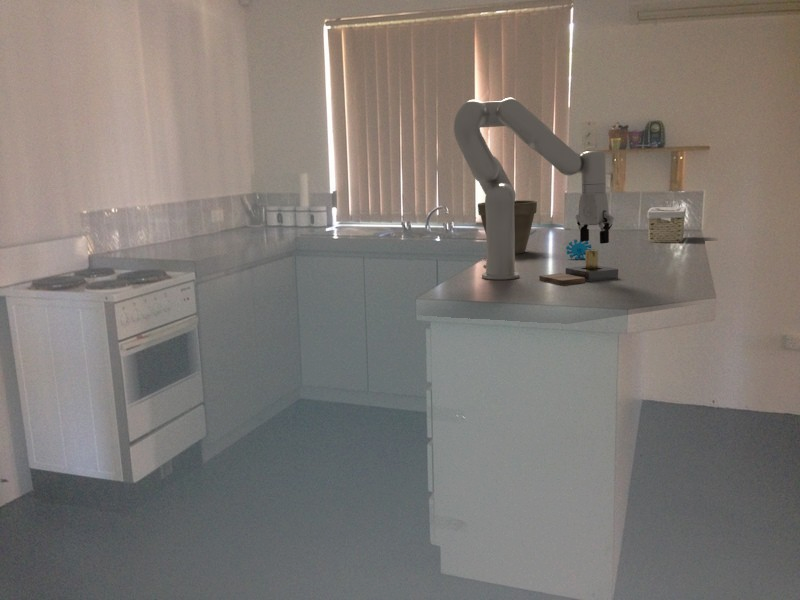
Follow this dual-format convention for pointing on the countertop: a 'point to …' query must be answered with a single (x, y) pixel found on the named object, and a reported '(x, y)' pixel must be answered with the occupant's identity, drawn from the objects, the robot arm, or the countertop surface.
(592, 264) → the key peg
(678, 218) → the storage basket
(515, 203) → the plant pot
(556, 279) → the board
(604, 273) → the grey square frame
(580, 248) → the gear
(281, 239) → the countertop surface
